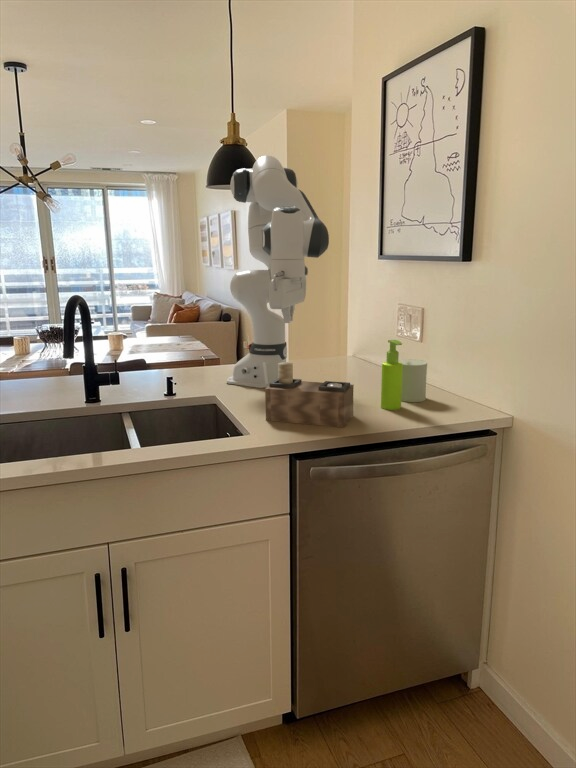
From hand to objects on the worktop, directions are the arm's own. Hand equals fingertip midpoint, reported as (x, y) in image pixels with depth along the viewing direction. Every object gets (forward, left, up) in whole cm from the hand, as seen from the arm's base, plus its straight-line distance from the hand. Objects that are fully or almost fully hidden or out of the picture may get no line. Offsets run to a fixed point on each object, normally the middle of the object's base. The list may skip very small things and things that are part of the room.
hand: (288, 322), depth 152 cm
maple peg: (-1, 0, -20) cm, 20 cm away
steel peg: (+13, 0, -25) cm, 28 cm away
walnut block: (+6, 0, -27) cm, 27 cm away
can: (+30, +29, -27) cm, 49 cm away
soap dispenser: (+26, +17, -27) cm, 41 cm away
